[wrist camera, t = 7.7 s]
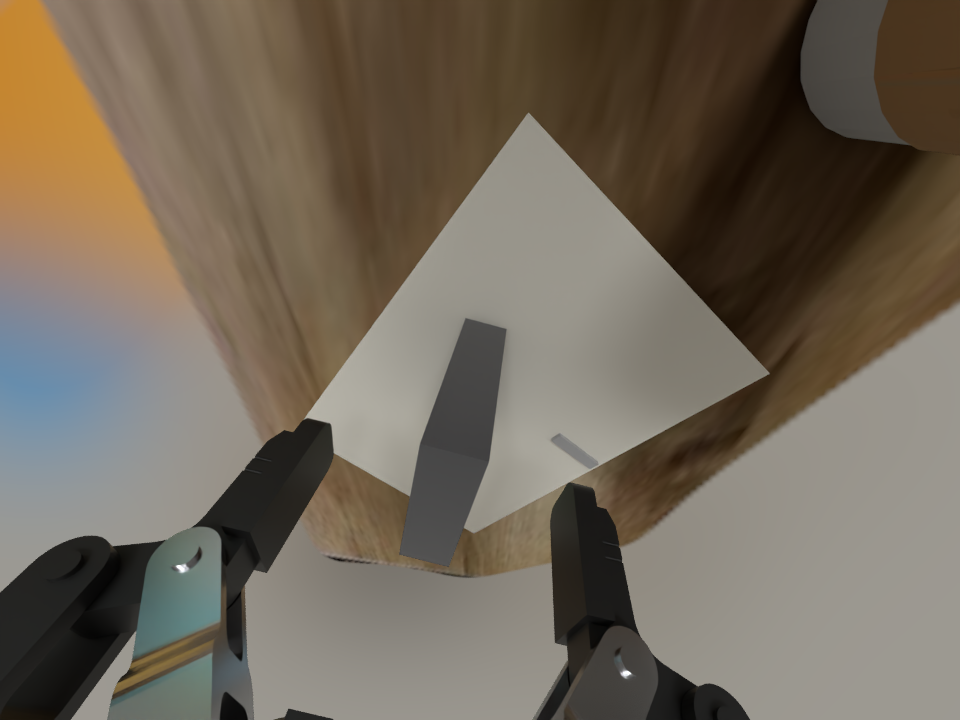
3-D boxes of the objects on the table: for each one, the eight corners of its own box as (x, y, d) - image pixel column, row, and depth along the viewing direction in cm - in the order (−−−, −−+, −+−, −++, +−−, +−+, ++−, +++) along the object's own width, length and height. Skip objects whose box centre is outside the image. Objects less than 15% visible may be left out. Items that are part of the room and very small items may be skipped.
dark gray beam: (506, 329, 14) (489, 461, 8) (457, 482, 21) (428, 618, 15) (465, 318, 14) (419, 444, 8) (429, 474, 21) (389, 608, 15)
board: (529, 115, 12) (528, 112, 10) (739, 342, 16) (772, 376, 14) (317, 403, 22) (293, 433, 20) (478, 502, 26) (473, 536, 24)
